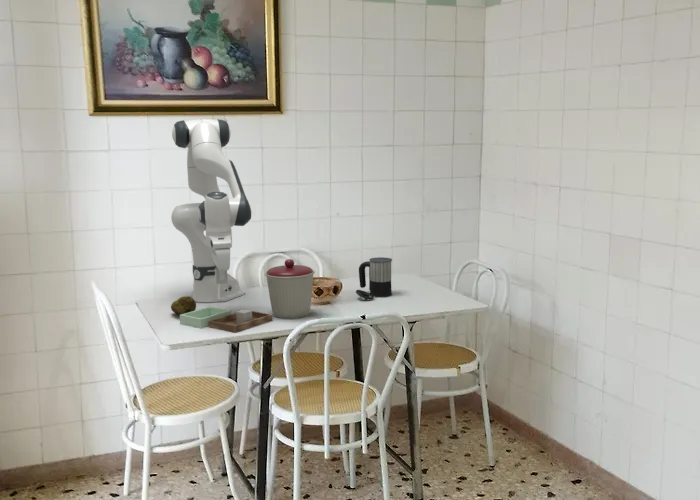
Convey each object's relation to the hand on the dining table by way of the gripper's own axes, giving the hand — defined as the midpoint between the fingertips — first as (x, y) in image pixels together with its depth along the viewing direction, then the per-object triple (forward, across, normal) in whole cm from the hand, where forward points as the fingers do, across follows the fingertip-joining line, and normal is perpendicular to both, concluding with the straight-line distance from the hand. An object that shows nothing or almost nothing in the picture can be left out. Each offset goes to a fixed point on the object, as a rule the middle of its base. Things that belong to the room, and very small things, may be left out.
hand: (221, 278), depth 258 cm
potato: (+17, -15, -12) cm, 25 cm away
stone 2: (+15, +10, +6) cm, 19 cm away
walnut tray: (+16, +7, +5) cm, 18 cm away
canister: (+16, +1, +25) cm, 30 cm away
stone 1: (+2, 0, 0) cm, 2 cm away
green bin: (+16, -1, -6) cm, 17 cm away
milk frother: (+17, -16, +62) cm, 67 cm away
